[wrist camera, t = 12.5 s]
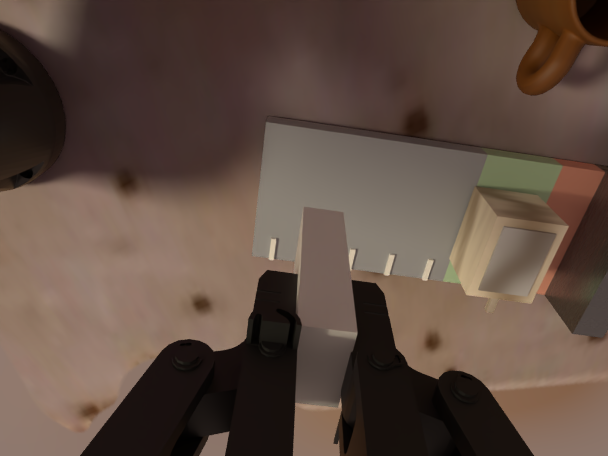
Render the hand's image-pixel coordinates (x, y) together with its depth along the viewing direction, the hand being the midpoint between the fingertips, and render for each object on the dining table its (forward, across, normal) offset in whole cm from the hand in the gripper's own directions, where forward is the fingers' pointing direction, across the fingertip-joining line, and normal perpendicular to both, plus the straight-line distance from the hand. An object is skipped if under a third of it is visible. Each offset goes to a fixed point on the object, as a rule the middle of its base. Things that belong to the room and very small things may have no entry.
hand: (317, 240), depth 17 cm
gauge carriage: (+24, +19, -11) cm, 32 cm away
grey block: (+26, +28, -10) cm, 40 cm away
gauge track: (+26, +11, -10) cm, 30 cm away
